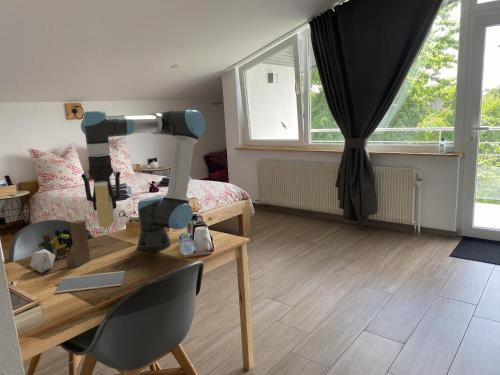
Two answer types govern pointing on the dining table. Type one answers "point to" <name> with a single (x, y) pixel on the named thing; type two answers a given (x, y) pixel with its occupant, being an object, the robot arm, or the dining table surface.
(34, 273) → the dining table surface
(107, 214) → the ochre slab
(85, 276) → the felt mat
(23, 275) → the dining table surface
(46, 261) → the die
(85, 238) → the wooden block
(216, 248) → the dining table surface
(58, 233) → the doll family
